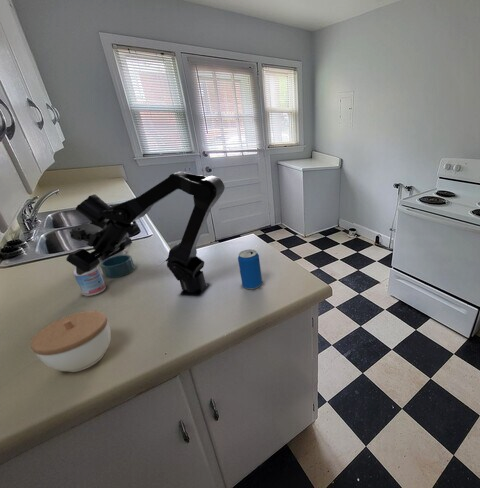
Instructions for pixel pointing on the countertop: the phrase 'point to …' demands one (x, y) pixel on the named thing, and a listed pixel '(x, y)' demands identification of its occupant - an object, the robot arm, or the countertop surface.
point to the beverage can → (250, 269)
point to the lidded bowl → (73, 341)
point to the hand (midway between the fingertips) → (90, 266)
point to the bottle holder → (117, 266)
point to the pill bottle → (90, 282)
